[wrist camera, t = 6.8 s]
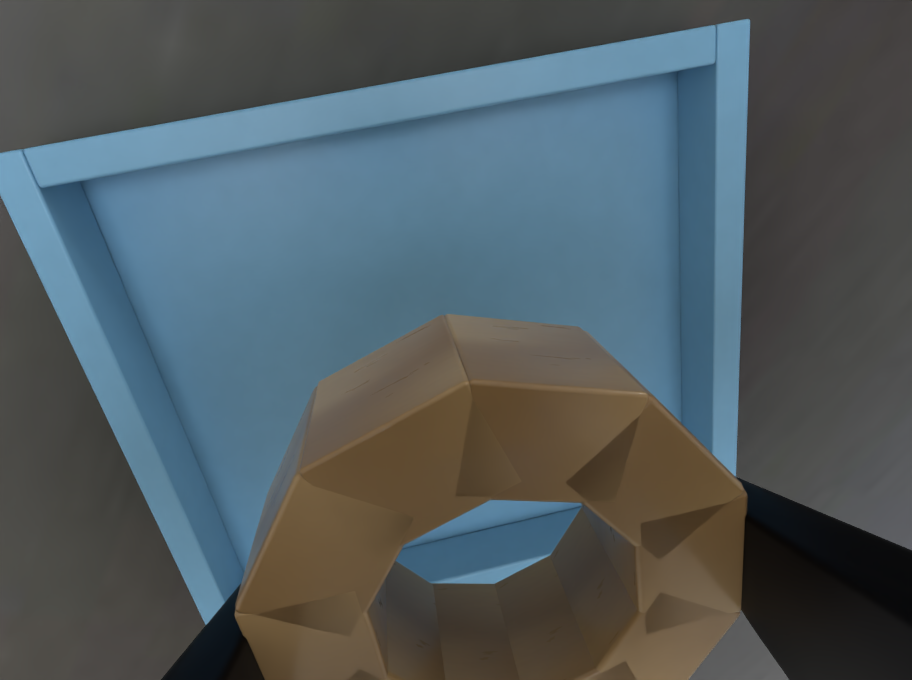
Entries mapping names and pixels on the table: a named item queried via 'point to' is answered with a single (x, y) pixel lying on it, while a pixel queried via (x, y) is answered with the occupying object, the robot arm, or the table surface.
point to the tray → (394, 265)
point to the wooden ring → (472, 484)
